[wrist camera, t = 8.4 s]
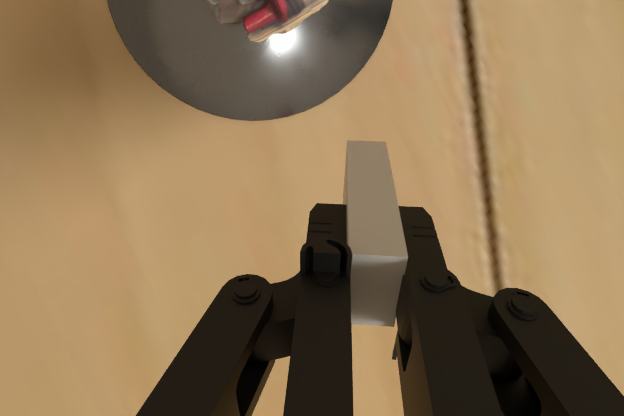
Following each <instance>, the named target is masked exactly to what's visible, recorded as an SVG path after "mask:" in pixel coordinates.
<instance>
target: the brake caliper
mask: <svg viewBox="0 0 624 416" xmlns="http://www.w3.org/2000/svg"><path fill="white" fill-rule="evenodd" d="M206 1H207V3H208V5H209V7H210V9H211V11H212V12H213V14H214V16H215V18H216V20H217V21H218V22H219V23H220V24H223V23H238V22H243V26H244V28H245V30H246V31H247V32H248V34H247V37H248V38H249V39H250V41H254V42H258V43H263V42H265V41H266V40H267V38H268V37H269V36H271V35H272V34H285V33H288V32H289V31H291V30H293V29H294V28H296V27H297V26H298V25H299V24H300V23H301V22H302V21H303V20H304V19H306V18H307V17H309V16H310V15H311V14H314V13H316V12H317V11H319V10H320V9H321V8H322V7H323V6H325V5H326V4H327V3H328V1H329V0H206Z"/></svg>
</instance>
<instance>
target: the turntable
mask: <svg viewBox="0 0 624 416" xmlns="http://www.w3.org/2000/svg"><path fill="white" fill-rule="evenodd" d="M107 1H108V5H109V9H110V12H111V15H112V17H113V20H114V23H115V26H116V28H117V30H118V32H119V34H120V36H121V38H122V40H123V42H124V44H125V46H126V47H127V49H128V50H129V52H130V53H131V55H132V56H133V57H134V59H135V60H136V62H137V63H138V64H139V65H140V66H141V67H142V69H143V70H144V71H145V72H146V73H147V74H148V75H149V76H150V77H151V78H152V79H153V80H154V81H155V82H156V83H157V84H159V85H160V86H161V87H162V88H163V89H164V90H166V91H167V92H169V93H170V94H172V95H173V96H175V97H176V98H177V99H179V100H181V101H183V102H184V103H186V104H188V105H190V106H192V107H194V108H196V109H199V110H201V111H204V112H207V113H210V114H212V115H216V116H220V117H225V118H229V119H236V120H247V121H259V120H272V119H278V118H283V117H288V116H291V115H295V114H298V113H301V112H304V111H306V110H308V109H311V108H313V107H315V106H317V105H319V104H321V103H323V102H324V101H326V100H327V99H329V98H330V97H332V96H333V95H335V94H337V93H338V92H339V91H340V90H341V89H342V88H344V87H345V86H346V85H347V84H348V83H349V82H351V81H352V79H353V78H354V77H355V76H356V75H357V74H358V73H359V72H360V70H361V69H362V68H363V67H364V66H365V64H366V63H367V61H368V60H369V58H370V57H371V55H372V54H373V52H374V51H375V49H376V47H377V45H378V43H379V41H380V39H381V37H382V35H383V32H384V30H385V27H386V24H387V21H388V18H389V15H390V10H391V6H392V1H393V0H329V1H328V3H327V4H326V5H325V6H323V7H322V8H321V9H320V10H319V11H317V12H316V13H314V14H311V15H310V16H309V17H307V18H306V19H304V20H303V21H302V22H301V23H300V24H299V25H298V26H297V27H296V28H294V29H293V30H291V31H289V32H288V33H285V34H272V35H271V36H269V37H268V38H267V40H266V41H265V42H263V43H258V42H254V41H250V39H249V38H248V37H247V34H248V32H247V31H246V30H245V28H244V26H243V22H238V23H223V24H220V23H219V22H218V21H217V20H216V18H215V16H214V14H213V12H212V11H211V9H210V7H209V5H208V3H207V1H206V0H107Z"/></svg>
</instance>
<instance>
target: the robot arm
mask: <svg viewBox="0 0 624 416" xmlns="http://www.w3.org/2000/svg"><path fill="white" fill-rule="evenodd" d="M396 318H397V326H398V331H397V336H396V340H395V345H394V350H393V356H392V359H394V360H396V357H397V359H398V367H399V375H400V384H401V392H402V400H403V409H404V416H624V396H623V395H622V394H621V392H620V391H619V390H618V389H617V388H616V387H615V385H614V384H613V383H612V382H611V381H610V379H609V378H608V377H607V376H606V375H605V373H604V372H603V371H602V370H601V369H600V367H599V366H598V365H597V364H596V363H595V362H594V360H593V359H592V358H591V357H590V356H589V354H588V353H587V352H586V351H585V350H584V348H583V347H582V346H581V345H580V344H579V342H578V341H577V340H576V339H575V338H574V336H573V335H572V334H571V333H570V332H569V331H568V329H567V328H566V327H565V326H564V325H563V323H562V322H561V321H560V320H559V319H558V317H557V316H556V315H555V314H554V313H553V311H552V310H551V309H550V308H549V307H548V306H547V304H546V303H544V302H543V301H542V300H541V299H540V298H539V297H537V296H536V295H534V294H532V293H530V292H528V291H525V290H521V289H518V288H505V289H502V290H499V291H498V292H497V293H496V295H495V296H494V297H491V296H487V295H484V294H481V293H477V292H474V291H472V290H469V289H467V288H465V287H463V286H461V284H460V282H459V280H458V279H457V277H456V276H455V275H454V274H453V273H451V272H450V271H449V270H447V267H446V263H445V260H444V257H443V253H442V250H441V247H440V243H439V240H438V238H437V233H436V230H435V227H434V223H433V220H432V217H431V216H430V215H429V214H428V213H427V212H426V211H425V209H424V208H423V207H405V206H398V202H397V197H396V192H395V186H394V181H393V176H392V171H391V166H390V161H389V155H388V150H387V145H386V142H375V141H350V140H347V149H346V163H345V178H344V192H343V205H342V204H321V203H317V204H316V205H315V206H314V208H313V209H312V210H311V211H310V215H309V224H308V233H307V240H306V243H305V244H304V245H303V246H302V249H301V251H300V272H299V273H298V274H296V275H295V276H294V277H292V278H290V279H288V280H285V281H282V282H278V283H273V284H270V283H269V282H268V281H267V280H266V279H265V278H263V277H260V276H258V275H251V274H246V275H241V276H237V277H235V278H233V279H231V280H229V281H228V282H227V283H226V284H225V285H224V286H223V287H222V288H221V290H220V291H219V293H218V294H217V296H216V297H215V299H214V300H213V302H212V303H211V305H210V306H209V308H208V309H207V311H206V312H205V314H204V315H203V317H202V318H201V320H200V321H199V323H198V324H197V326H196V327H195V329H194V330H193V331H192V333H191V334H190V336H189V337H188V339H187V340H186V342H185V343H184V345H183V346H182V348H181V349H180V351H179V352H178V354H177V355H176V357H175V358H174V360H173V361H172V363H171V364H170V366H169V367H168V369H167V370H166V372H165V373H164V375H163V376H162V378H161V379H160V381H159V382H158V383H157V385H156V386H155V388H154V389H153V391H152V392H151V394H150V395H149V397H148V398H147V400H146V401H145V403H144V404H143V406H142V407H141V409H140V410H139V412H138V413H137V415H136V416H252V413H253V411H254V409H255V406H256V404H257V402H258V400H259V397H260V395H261V393H262V390H263V388H264V386H265V383H266V381H267V379H268V377H269V374H270V372H271V370H272V367H273V365H274V363H275V359H279V358H283V357H287V356H290V364H289V373H288V381H287V389H286V397H285V405H284V414H283V416H353V380H352V333H351V324H361V325H377V326H393V327H394V324H395V319H396Z"/></svg>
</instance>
